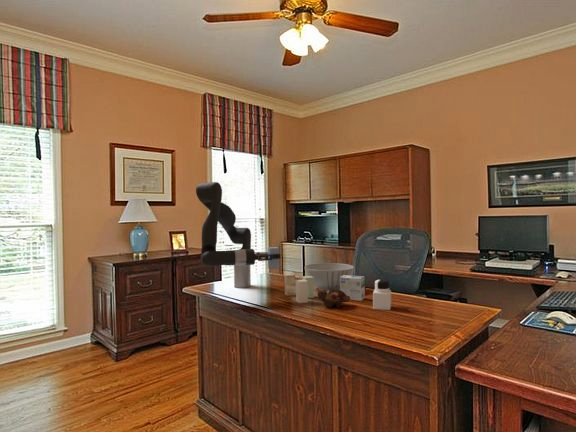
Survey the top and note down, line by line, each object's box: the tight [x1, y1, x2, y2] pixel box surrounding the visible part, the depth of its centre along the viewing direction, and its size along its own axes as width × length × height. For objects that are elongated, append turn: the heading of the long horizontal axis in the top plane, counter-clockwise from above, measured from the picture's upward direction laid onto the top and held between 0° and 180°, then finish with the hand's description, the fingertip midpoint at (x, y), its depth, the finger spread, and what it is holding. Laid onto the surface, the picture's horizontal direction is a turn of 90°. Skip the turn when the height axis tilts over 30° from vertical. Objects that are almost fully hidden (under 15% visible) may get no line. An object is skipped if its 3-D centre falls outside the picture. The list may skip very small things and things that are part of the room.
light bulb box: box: [340, 275, 366, 302], centre depth 179 cm, size 11×7×11 cm, turn 65°
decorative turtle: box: [316, 289, 351, 309], centre depth 165 cm, size 10×15×8 cm, turn 108°
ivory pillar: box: [295, 279, 309, 304], centre depth 174 cm, size 4×4×10 cm
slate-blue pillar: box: [267, 246, 280, 270], centre depth 180 cm, size 4×4×10 cm
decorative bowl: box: [304, 262, 355, 291], centre depth 201 cm, size 27×27×12 cm
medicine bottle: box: [372, 279, 392, 311], centre depth 162 cm, size 7×7×12 cm
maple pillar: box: [284, 273, 296, 297], centre depth 189 cm, size 4×4×10 cm
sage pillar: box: [302, 275, 315, 299], centre depth 183 cm, size 4×4×10 cm
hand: (278, 255), depth 181 cm, fingers closed on slate-blue pillar, 4 cm apart
